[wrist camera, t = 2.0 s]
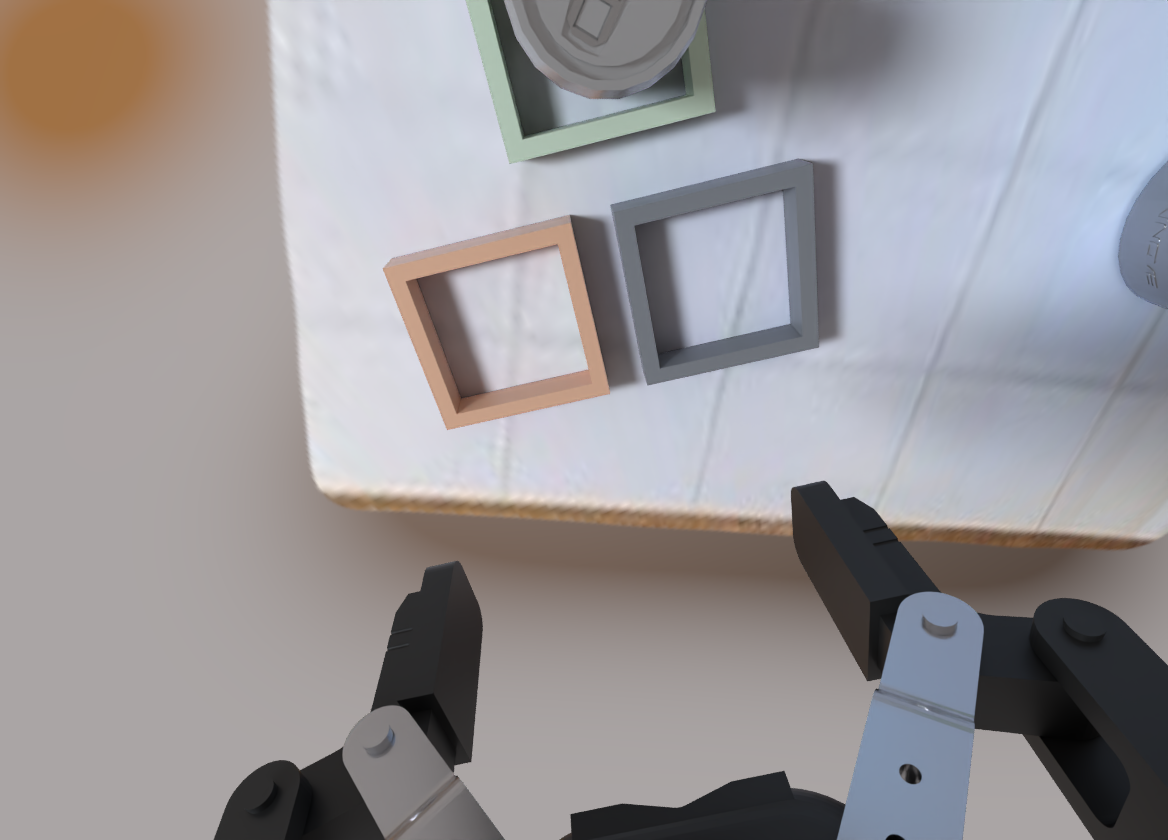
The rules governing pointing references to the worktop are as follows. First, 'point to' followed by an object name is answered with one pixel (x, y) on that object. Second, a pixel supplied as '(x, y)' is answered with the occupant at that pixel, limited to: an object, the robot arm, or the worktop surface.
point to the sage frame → (595, 129)
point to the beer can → (605, 41)
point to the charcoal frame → (800, 266)
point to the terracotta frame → (430, 351)
